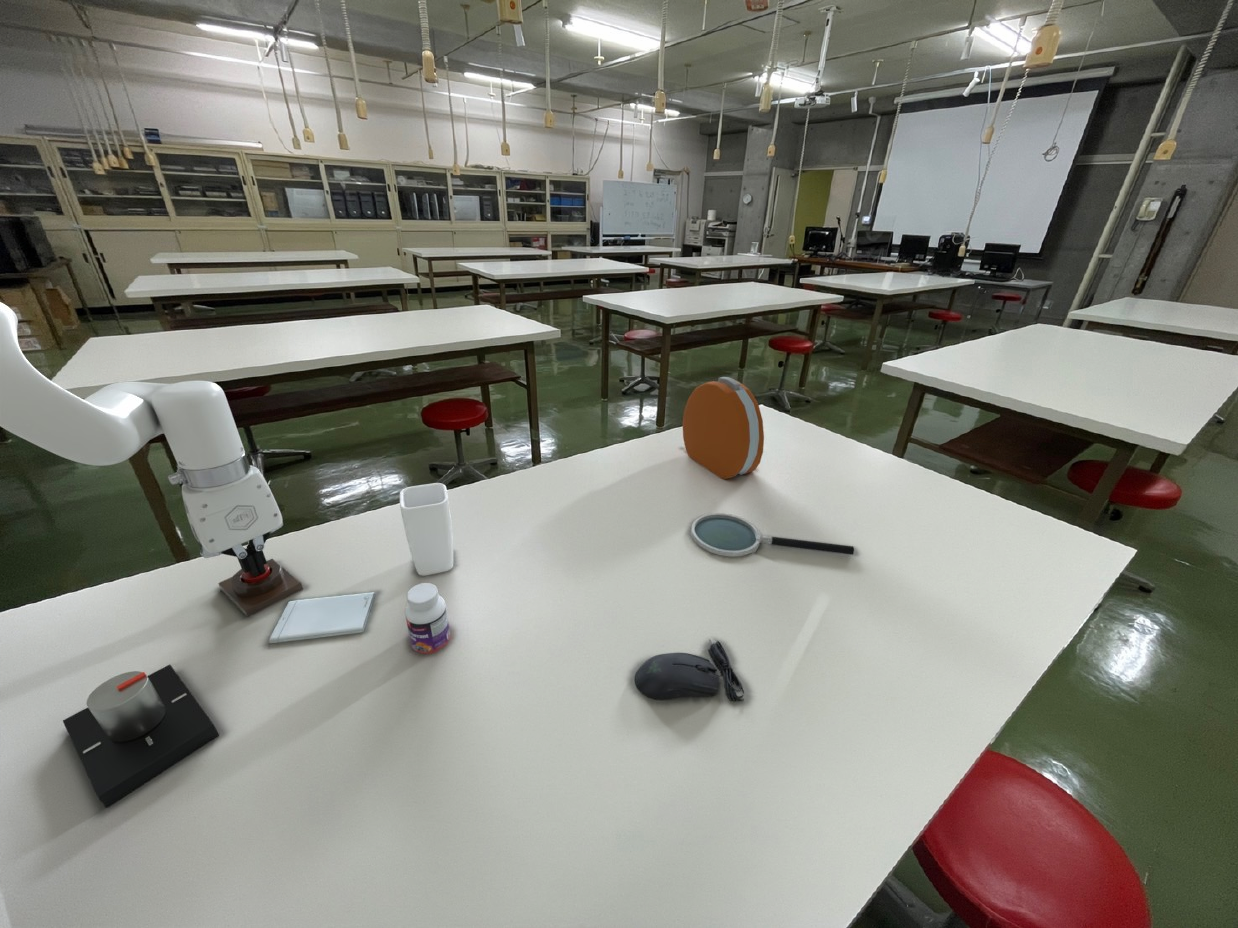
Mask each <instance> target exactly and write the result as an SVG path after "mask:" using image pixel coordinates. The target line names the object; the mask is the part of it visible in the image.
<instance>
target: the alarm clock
mask: <svg viewBox="0 0 1238 928" xmlns="http://www.w3.org/2000/svg"><path fill="white" fill-rule="evenodd" d="M717 380H718V381H714V380H713V381H707V382H705V383H703V384H700V385H698V386H696V387H695V388H694V390H693V391H692V392H691V394H690V395H689V397H688V398H687V401H686V405H685V407H684V411H683V418H682V439H683V443H684V448H685V451H686V454H687V455H688V457H689V458H690V459H692V460H693V461H694V462H696V463H697V464H699V465H701V466H702V467H703V468H705V469H706V470H708V471H709V472H711V473H713V474H714V475H715V476H717V477H718V478H720V479H722V480H728V479H731V478H734V477H737V476H738V475H740V476H742V475H745V474H749V473H752V472H753V471H756V470H757V468H758V466H759V465H760V464H761V461H762V457H763V453H764V443H765V433H764V420H763V416H762V412H761V409H760V405H759V402H758V401H757V399H756V398H755V396H754V394H753V393H752V391H751V389H750V388H748V387H747V386H746V385H744V384H743V383H741V382H740V381H738V380H736V379H734V378H732V377H729V376H722V377H718V379H717Z"/></svg>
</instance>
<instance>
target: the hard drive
mask: <svg viewBox="0 0 1238 928" xmlns="http://www.w3.org/2000/svg"><path fill="white" fill-rule="evenodd" d="M375 598H376V592H375V591H373V592H372V591H371V592H364V593H354V594H343V595H334V596H324V597H316V598H306V599H297V600H290V601H288V603H287V604H286V606H285V608H284V610H283V612H282V614H281V615H280V618H279V619H278V621H277V623H276V625H275V627H274V629H273V631H272V633H271V635H270V636H269V639H268V643H269V644H275V643H283V642H292V641H293V642H294V641H301V640H308V639H317V638H325V637H326V638H327V637H334V636H343V635H351V634H359V633H364V631H365V629H366V625H367V622H368V619H369V616H370V613H371V610H372V606H373V604H374V601H375Z"/></svg>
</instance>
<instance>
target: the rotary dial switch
mask: <svg viewBox="0 0 1238 928" xmlns="http://www.w3.org/2000/svg"><path fill="white" fill-rule="evenodd" d="M147 676H148V678H149V680H150V682H151V683H152V685H153V687H154V688H155V690H156V692H157V694H158V695H159V697H160V699H161V701H162V702H163V704H164V706H165V708H166V713H165V715H164V717H163V719H162V720H161V722H160V723H159V724H158V725H157V726H156V727H154V728H153V729H152V730H151V731H149V732H148V733H146V734H144V735H143V736H141V737H139V738H136V739H134V740H131V741H127V742H113V741H111V740H110V739H109V737H108V736H107V734H106V733H105V732H104V730H103V729H102V727H101V726H100V724H99V723H98V721H97V720H96V719H95V717H94V716H93V714H92V713H91V711H90V710H89V708H88V707H86V708H84V709H82V710H80V711H78V712H76V713H74V714H73V715H71V716H69V717H67V718H65V719H63V720H62V722H63V725H64V727H65V729H66V731H67V734H68V736H69V738H70V740H71V742H72V744H73V747H74V749H75V752H76V753H77V755H78V757H79V760H80V762H81V764H82V766H83V769H84V770H85V773H86V775H87V777H88V780H89V781H90V784H91V786H92V789H93V790H94V793H95V795H96V797H97V799H98V800H99V801H100V802H101V803H102V805H103V806H104V807H105V809H108V808H110V807H112V806H113V805H115V804H116V803H118V802H119V801H121V800H122V799H124V798H125V797H127V796H129V795H130V794H131V793H133V792H135V791H136V790H138V789H139V788H141V787H142V786H144V785H146V784H147V783H148V782H150V781H152V780H153V779H155V778H156V777H158V776H159V775H161V774H162V773H164V772H166V771H167V770H169V769H170V768H172V767H173V766H174V765H176V764H178V763H179V762H181V761H183V760H184V759H186V758H187V757H189V756H190V755H192V754H193V753H195V752H197V751H198V750H199V749H201V748H203V747H204V746H206V745H207V744H209V743H210V742H212V741H213V740H215V739H217V738H218V737H220V733H219V731H218V730H217V728H216V726H215V724H214V723H213V721H212V720H211V719H210V717H209V715H208V714H207V713H206V712H205V710H204V709H203V707H202V706H201V704H200V703H199V702H198V700H197V698H195V696H194V695H193V694H192V692H191V691H190V690H189V688H188V686H186V684H185V683H184V681H183V679H182V678H181V677H180V675H179V674H178V673H177V672H176V670H175V669H174V668H173V666H172V665H171V664H168V665H166V666H164V667H161V668H160V669H158V670H156V671H154V672H152V673H150V674H148V675H147Z"/></svg>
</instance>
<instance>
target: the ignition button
mask: <svg viewBox="0 0 1238 928" xmlns="http://www.w3.org/2000/svg"><path fill="white" fill-rule="evenodd" d="M264 567H265V570H266V572H265V573H263V574H262V573H261V574H259V576H257V577H254V576H253V575H252V574H251V573H250V572H247V573H245V572H243V573H242V578H243V580H244V583H253V582H258V581H260V580H262V579H265V578H267V577H268V576H269V575H270V574H271V572H270V569H269V567H268V566H267V565H264Z"/></svg>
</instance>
